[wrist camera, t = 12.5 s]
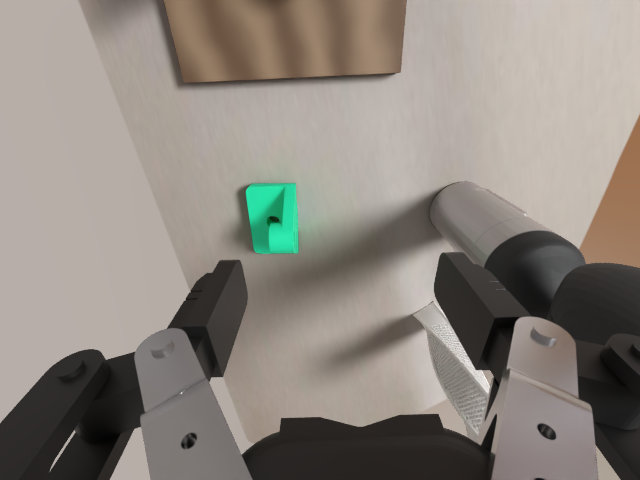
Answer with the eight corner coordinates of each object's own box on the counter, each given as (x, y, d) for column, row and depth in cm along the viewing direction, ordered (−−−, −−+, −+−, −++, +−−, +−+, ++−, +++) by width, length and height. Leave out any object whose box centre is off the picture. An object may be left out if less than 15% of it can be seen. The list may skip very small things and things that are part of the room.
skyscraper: (403, 313, 58) (466, 478, 34) (433, 294, 56) (525, 457, 31) (425, 332, 61) (498, 498, 36) (455, 314, 58) (554, 479, 34)
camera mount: (248, 181, 44) (230, 205, 35) (296, 181, 44) (290, 205, 35) (257, 246, 50) (243, 280, 41) (299, 245, 50) (294, 280, 41)
